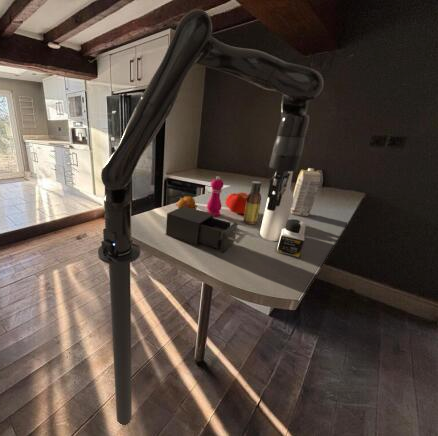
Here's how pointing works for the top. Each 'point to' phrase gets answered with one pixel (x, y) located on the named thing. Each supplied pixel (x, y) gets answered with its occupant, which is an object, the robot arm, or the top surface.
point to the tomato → (237, 202)
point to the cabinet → (186, 224)
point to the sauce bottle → (253, 204)
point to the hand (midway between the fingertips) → (273, 207)
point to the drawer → (218, 233)
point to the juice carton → (305, 192)
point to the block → (220, 233)
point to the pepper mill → (215, 197)
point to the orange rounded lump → (187, 202)
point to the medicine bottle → (292, 238)
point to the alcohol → (277, 215)
